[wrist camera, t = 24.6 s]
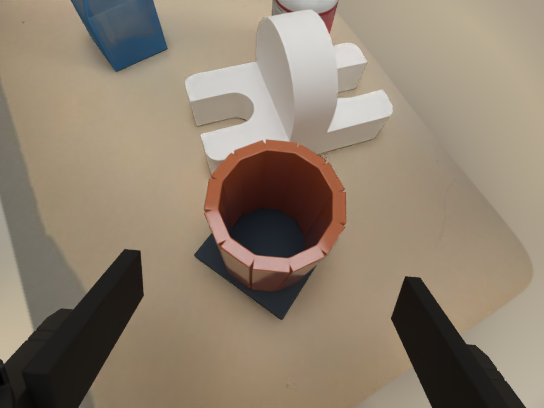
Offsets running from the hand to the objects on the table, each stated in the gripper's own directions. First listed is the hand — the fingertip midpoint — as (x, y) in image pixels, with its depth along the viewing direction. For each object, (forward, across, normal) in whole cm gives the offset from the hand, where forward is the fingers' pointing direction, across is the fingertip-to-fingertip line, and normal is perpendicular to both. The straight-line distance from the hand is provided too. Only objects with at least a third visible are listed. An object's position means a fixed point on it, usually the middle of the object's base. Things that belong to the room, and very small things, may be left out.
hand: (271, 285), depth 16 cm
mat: (+11, 0, -4) cm, 12 cm away
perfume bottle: (+26, -18, +11) cm, 34 cm away
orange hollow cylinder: (+11, 0, -4) cm, 11 cm away
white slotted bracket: (+21, +1, +5) cm, 21 cm away
